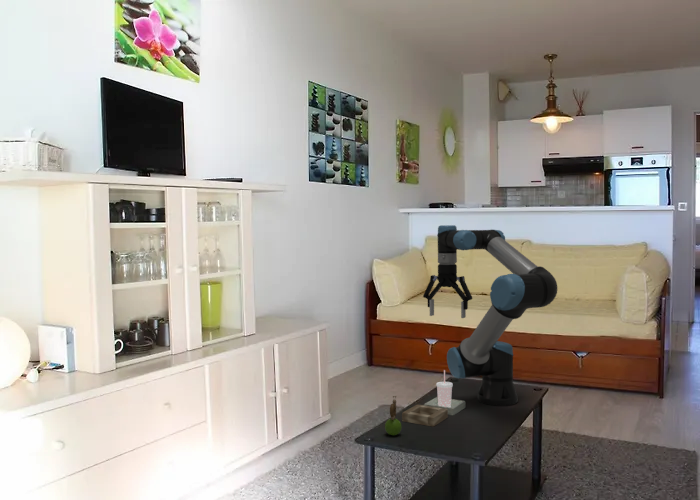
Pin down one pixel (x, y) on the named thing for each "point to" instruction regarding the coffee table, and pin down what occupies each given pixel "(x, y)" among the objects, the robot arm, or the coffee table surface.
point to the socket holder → (425, 415)
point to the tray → (455, 407)
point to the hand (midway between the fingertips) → (447, 316)
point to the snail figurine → (393, 421)
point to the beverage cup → (444, 393)
